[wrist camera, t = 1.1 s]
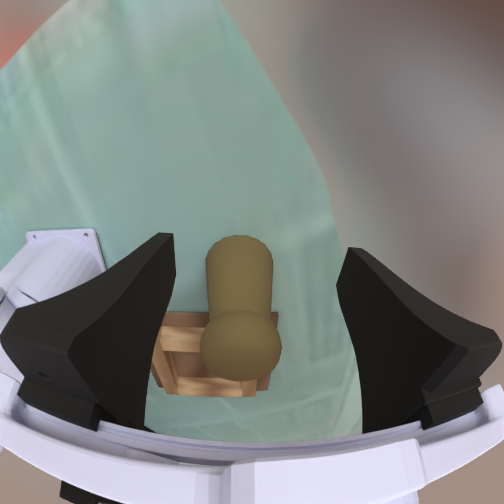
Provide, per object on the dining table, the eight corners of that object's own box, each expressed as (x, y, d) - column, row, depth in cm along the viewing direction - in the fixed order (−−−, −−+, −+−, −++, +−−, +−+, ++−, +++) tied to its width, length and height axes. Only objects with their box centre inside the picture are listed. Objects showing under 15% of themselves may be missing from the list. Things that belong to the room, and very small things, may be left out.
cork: (282, 277, 26) (302, 379, 16) (224, 298, 27) (220, 398, 17) (257, 224, 23) (271, 325, 13) (193, 250, 24) (170, 353, 14)
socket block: (159, 385, 36) (156, 398, 34) (128, 309, 27) (122, 325, 25) (267, 387, 37) (268, 401, 35) (277, 312, 28) (280, 329, 26)
